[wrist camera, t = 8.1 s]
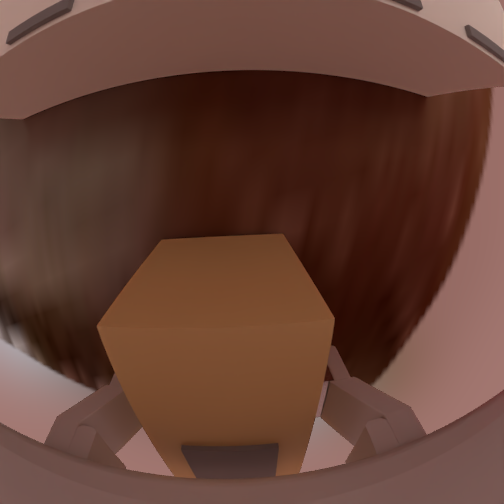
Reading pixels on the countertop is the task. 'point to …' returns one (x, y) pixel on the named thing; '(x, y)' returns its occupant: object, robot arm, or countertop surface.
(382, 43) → the ticket block
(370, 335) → the countertop surface
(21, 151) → the countertop surface
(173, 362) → the stub
